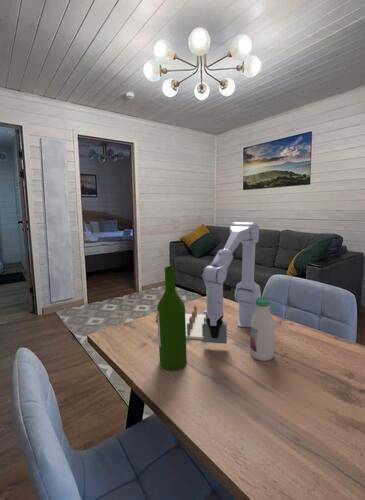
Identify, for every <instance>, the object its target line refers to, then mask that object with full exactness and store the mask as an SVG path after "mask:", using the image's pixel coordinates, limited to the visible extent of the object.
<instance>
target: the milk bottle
mask: <svg viewBox="0 0 365 500" xmlns="http://www.w3.org/2000/svg"><path fill="white" fill-rule="evenodd" d="M270 308H271V300H270V299H269V298H267V297H261V298H257V299H256V311H255V313H254V315H253V317H252V320H251V327H250V334H249V335H250V337H249V339H250V340H249V341H250V342H249V343H250V344H249V347H250V349H249V350H250V351H249V353H250V356H251V357H252V358H254V359H255V360H257V361H264V362H266V361H271V360H272V359H273V358H274V354H275V321H274V318H273V316H272V313H271V311H270Z"/></svg>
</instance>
